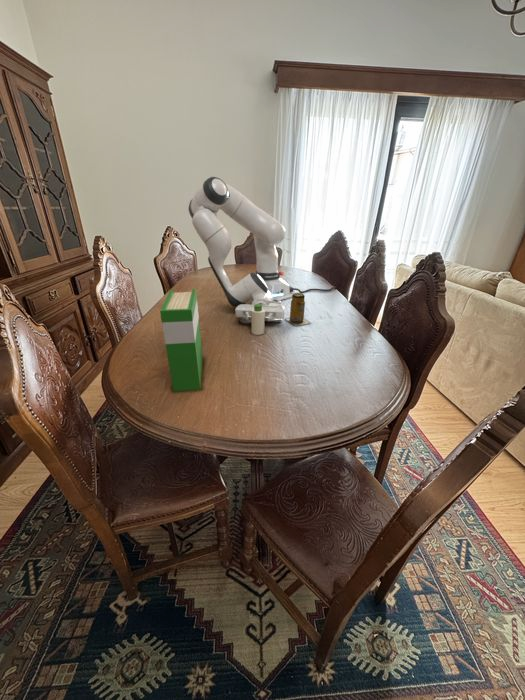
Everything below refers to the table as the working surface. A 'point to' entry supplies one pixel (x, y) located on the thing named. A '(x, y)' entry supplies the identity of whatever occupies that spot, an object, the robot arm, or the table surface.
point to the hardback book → (183, 339)
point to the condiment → (297, 310)
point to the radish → (257, 319)
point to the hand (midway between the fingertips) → (258, 318)
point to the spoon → (245, 321)
